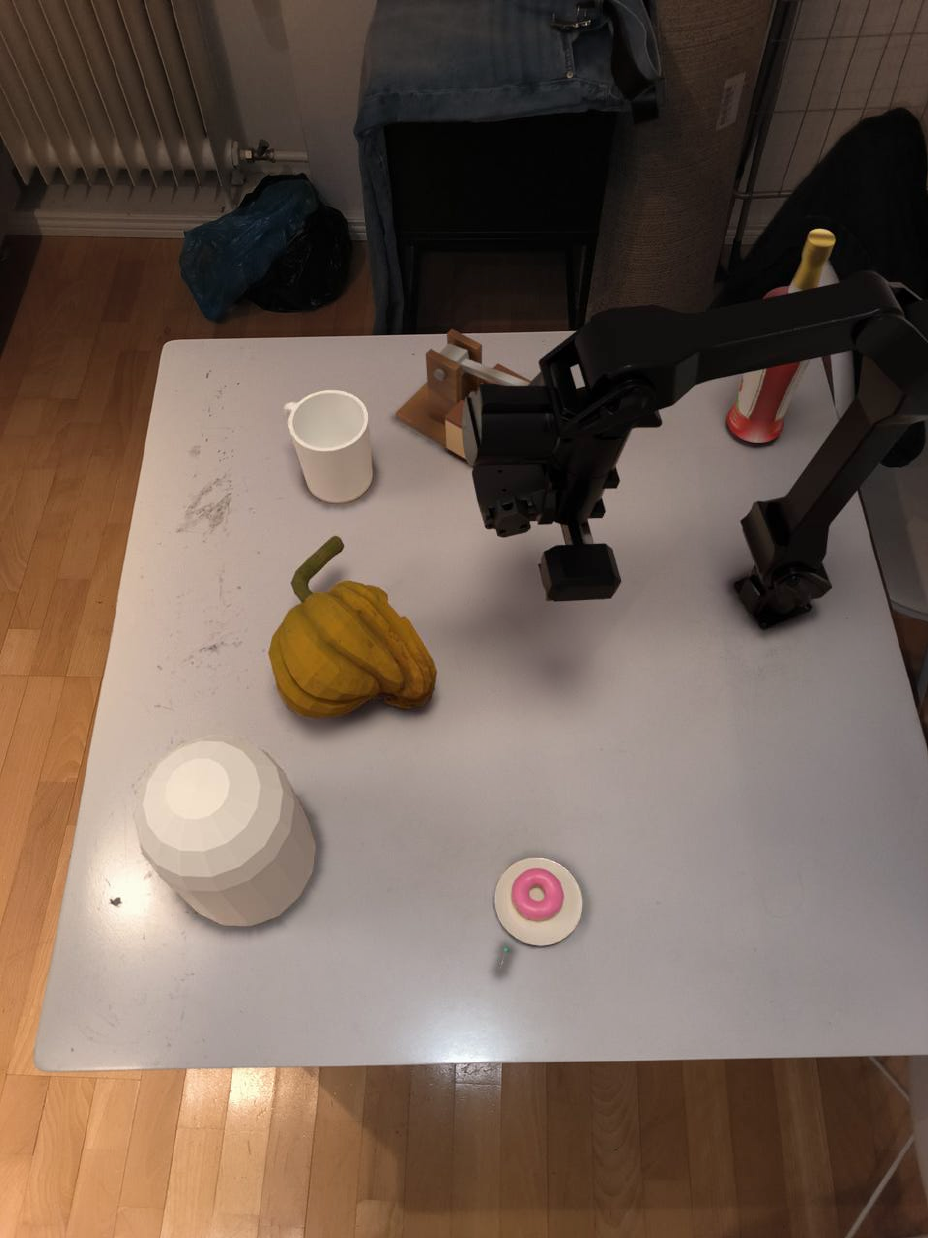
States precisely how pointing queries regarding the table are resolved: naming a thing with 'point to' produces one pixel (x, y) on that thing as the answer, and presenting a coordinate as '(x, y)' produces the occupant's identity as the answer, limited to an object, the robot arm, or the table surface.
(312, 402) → the mug
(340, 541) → the pumpkin
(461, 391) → the slicer
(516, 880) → the donut on plate
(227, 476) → the table surface
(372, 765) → the table surface
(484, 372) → the blade lever
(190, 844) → the container
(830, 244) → the liquor
